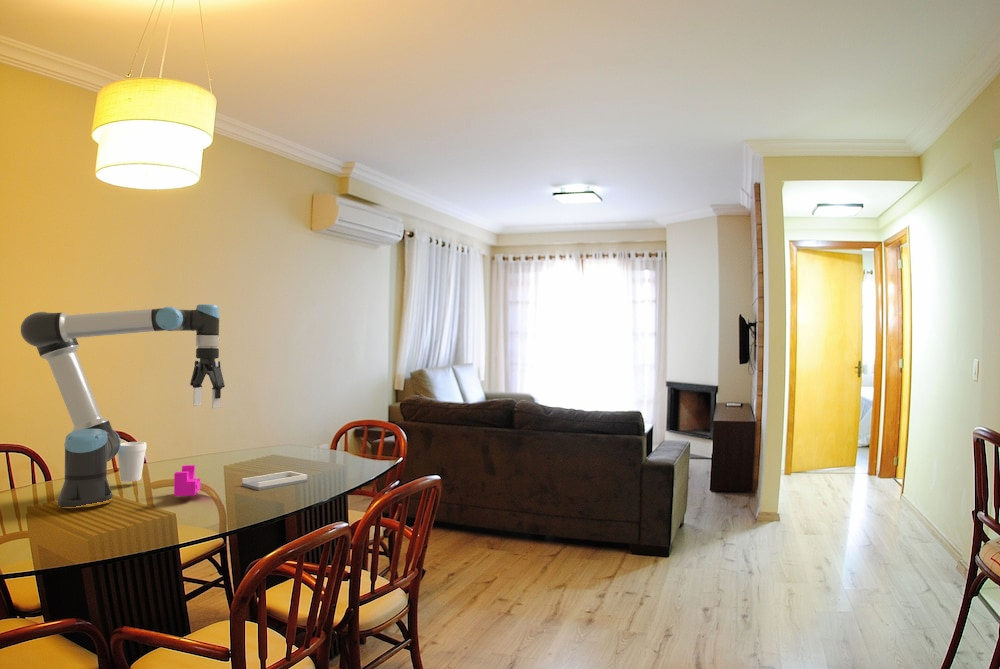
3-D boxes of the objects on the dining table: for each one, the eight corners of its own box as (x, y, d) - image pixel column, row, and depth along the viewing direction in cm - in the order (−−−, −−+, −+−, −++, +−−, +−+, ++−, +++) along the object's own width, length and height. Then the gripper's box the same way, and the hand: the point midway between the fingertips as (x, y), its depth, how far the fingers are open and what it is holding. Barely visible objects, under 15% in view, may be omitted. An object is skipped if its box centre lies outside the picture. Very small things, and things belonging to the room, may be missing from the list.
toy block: (195, 495, 220) (195, 472, 220) (174, 496, 218) (174, 473, 218) (202, 486, 234) (202, 464, 234) (183, 487, 233) (183, 465, 233)
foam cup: (132, 483, 238) (133, 446, 238) (109, 481, 240) (110, 445, 240) (151, 477, 247) (152, 442, 247) (129, 476, 249) (130, 441, 249)
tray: (258, 490, 227) (259, 482, 227) (241, 485, 234) (241, 478, 234) (307, 481, 241) (307, 474, 242) (289, 477, 249) (289, 471, 249)
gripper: (235, 347, 237) (234, 408, 236) (200, 347, 253) (200, 404, 252) (214, 347, 231) (214, 409, 231) (180, 347, 247) (180, 405, 246)
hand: (206, 406), depth 241 cm, fingers open, 13 cm apart
